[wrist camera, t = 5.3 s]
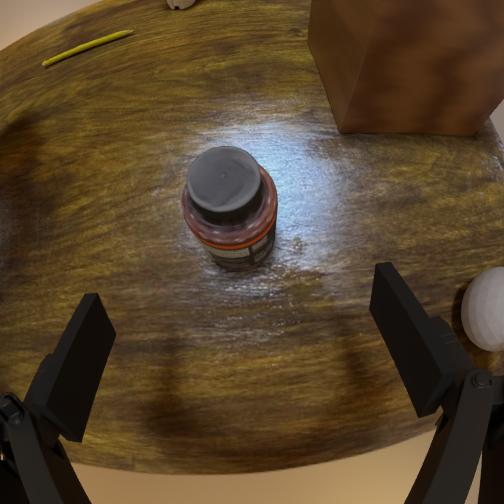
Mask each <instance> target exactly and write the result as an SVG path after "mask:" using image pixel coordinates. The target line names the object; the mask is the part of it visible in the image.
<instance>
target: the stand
mask: <svg viewBox="0 0 504 504" xmlns="http://www.w3.org/2000/svg"><path fill="white" fill-rule="evenodd" d="M307 42H308V44H309V47H310V49H311V52H312V54H313V57H314V60H315V62H316V65H317V68H318V70H319V73H320V76H321V78H322V81H323V84H324V87H325V90H326V93H327V96H328V99H329V102H330V105H331V108H332V111H333V114H334V117H335V120H336V123H337V127H338V130H339V133H419V134H439V135H454V136H466V137H472V136H473V134H474V133H475V132H476V131H477V130H478V129H479V128H480V126H481V125H482V124H483V123H484V122H485V121H486V119H487V118H488V117H489V116H490V115H491V114H492V112H493V111H494V110H495V109H496V108H497V106H498V105H499V104H500V103H501V102H502V100H503V99H504V0H312V3H311V12H310V21H309V30H308V38H307Z"/></svg>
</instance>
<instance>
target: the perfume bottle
mask: <svg viewBox="0 0 504 504" xmlns="http://www.w3.org/2000/svg"><path fill="white" fill-rule="evenodd" d="M461 320H462V323H463V327H464V331H465V332H466V334H467V336H468V338H469V339H470V340H471V341H472V342H473V343H474V344H475V345H477V346H478V347H480V348H481V349H484V350H488V351H492V352H494V351H501V350H504V267H496V268H490V269H488V270H486V271H484V272H482V273H481V274H480V275H478V276H477V277H476V278H474V279H473V281H472V282H471V283H470V285H469V286H468V288H467V290H466V292H465V294H464V297H463V301H462V305H461Z"/></svg>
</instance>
